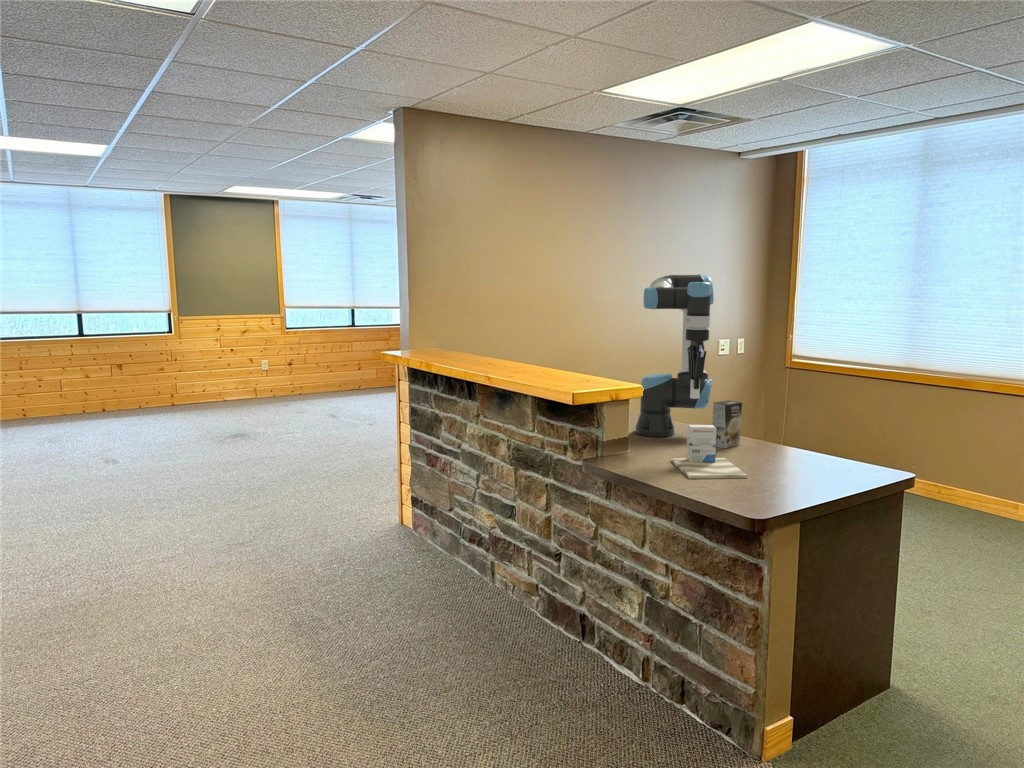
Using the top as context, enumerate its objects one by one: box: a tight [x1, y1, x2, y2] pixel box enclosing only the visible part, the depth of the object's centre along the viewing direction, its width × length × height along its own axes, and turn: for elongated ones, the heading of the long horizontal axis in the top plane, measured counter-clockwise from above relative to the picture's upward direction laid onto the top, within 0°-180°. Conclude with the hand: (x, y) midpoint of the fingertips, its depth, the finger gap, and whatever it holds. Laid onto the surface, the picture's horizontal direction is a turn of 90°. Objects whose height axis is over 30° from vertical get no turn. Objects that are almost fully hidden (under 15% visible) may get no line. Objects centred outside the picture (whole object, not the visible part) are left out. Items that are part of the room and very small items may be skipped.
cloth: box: [670, 457, 748, 480], centre depth 220 cm, size 20×18×1 cm
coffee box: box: [711, 400, 743, 449], centre depth 250 cm, size 9×6×16 cm
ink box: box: [686, 424, 717, 462], centre depth 226 cm, size 9×5×12 cm, turn 85°
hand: (694, 398), depth 233 cm, fingers closed
